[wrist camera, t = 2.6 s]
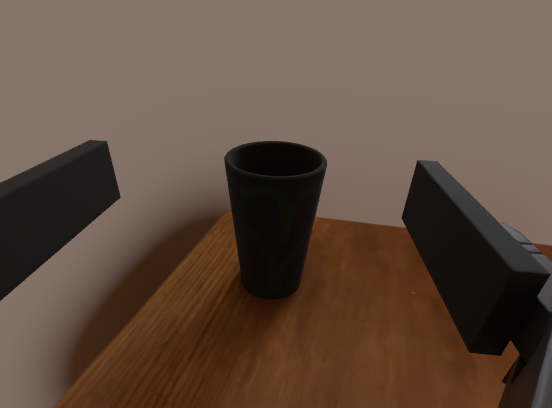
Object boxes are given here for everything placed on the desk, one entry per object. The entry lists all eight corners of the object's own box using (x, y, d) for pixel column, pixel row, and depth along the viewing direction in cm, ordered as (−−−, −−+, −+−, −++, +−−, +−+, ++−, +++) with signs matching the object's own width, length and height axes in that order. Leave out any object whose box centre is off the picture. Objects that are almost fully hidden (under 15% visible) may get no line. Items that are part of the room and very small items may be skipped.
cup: (284, 323, 24) (294, 189, 18) (212, 284, 28) (201, 160, 22) (325, 269, 30) (342, 153, 24) (261, 242, 33) (263, 135, 27)
